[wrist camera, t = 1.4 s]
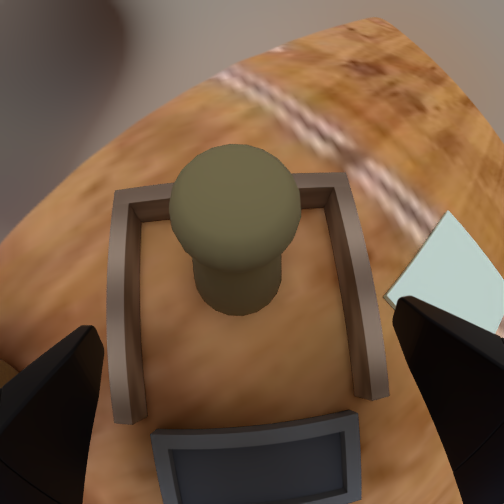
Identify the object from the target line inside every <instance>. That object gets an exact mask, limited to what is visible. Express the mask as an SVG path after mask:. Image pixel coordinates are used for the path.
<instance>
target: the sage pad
mask: <svg viewBox="0 0 504 504" xmlns="http://www.w3.org/2000/svg"><path fill="white" fill-rule="evenodd" d="M409 295H410V296H413V297H416V298H418V299H420V300H422V301H425V302H427V303H429V304H431V305H433V306H436V307H438V308H440V309H442V310H444V311H447V312H449V313H451V314H453V315H455V316H457V317H460V318H462V319H464V320H466V321H468V322H470V323H473V324H475V325H477V326H479V327H481V328H483V329H485V330H487V331H490V332H492V333H494V334H495V333H496V331H497V328H498V326H499V324H500V322H501V319H502V317H503V315H504V280H503V278H502V277H501V275H500V274H499V272H498V271H497V270H496V268H495V267H494V266H493V264H492V263H491V261H490V260H489V259H488V257H487V256H486V255H485V254H484V252H483V251H482V250H481V248H480V247H479V246H478V245H477V243H476V242H475V241H474V240H473V238H472V237H471V236H470V235H469V234H468V232H467V231H466V230H465V229H464V228H463V226H462V225H461V224H460V223H459V222H458V221H457V220H456V218H455V217H454V216H453V215H452V214H451V213H450V212H449V211H446V212H445V213H444V215H443V216H442V218H441V219H440V221H439V222H438V224H437V225H436V227H435V228H434V230H433V231H432V233H431V234H430V236H429V237H428V239H427V240H426V241H425V243H424V244H423V246H422V247H421V248H420V250H419V251H418V253H417V254H416V255H415V257H414V258H413V259H412V261H411V262H410V263H409V265H408V266H407V267H406V269H405V270H404V271H403V273H402V274H401V275H400V277H399V278H398V279H397V280H396V282H395V283H394V284H393V285H392V287H391V288H390V289H389V290H388V292H387V293H386V294H385V295H384V297H383V298H384V299H385V300H386V301H387V302H388V303H389V304H390V305H391V306H392V307H393V308H394V310H395V308H396V304H397V300H398V299H399V298H400V297H403V296H409Z"/></svg>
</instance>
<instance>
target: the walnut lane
mask: <svg viewBox="0 0 504 504" xmlns="http://www.w3.org/2000/svg"><path fill="white" fill-rule="evenodd" d="M292 175H293V177H294V180H295V182H296V184H297V187H298V189H299V192H300V203H301V209H305V208H323V207H324V210H325V214H326V219H327V223H328V228H329V233H330V238H331V242H332V247H333V252H334V257H335V263H336V268H337V273H338V279H339V285H340V290H341V296H342V302H343V309H344V315H345V322H346V328H347V335H348V343H349V350H350V358H351V367H352V376H353V385H354V396H357V397H360V398H364V399H367V400H371V401H374V400H377V399H381V398H384V397H388V396H390V395H389V384H388V374H387V365H386V356H385V348H384V341H383V334H382V327H381V321H380V315H379V309H378V303H377V298H376V292H375V287H374V282H373V277H372V272H371V267H370V263H369V258H368V254H367V249H366V245H365V241H364V237H363V232H362V228H361V224H360V221H359V217H358V213H357V209H356V206H355V202H354V198H353V195H352V191H351V188H350V185H349V181H348V178H347V175H346V173H296V174H292ZM173 185H174V183H167V184H158V185H151V186H143V187H136V188H129V189H122V190H116V191H115V193H114V201H113V209H112V218H111V228H110V239H109V252H108V270H107V351H108V368H109V381H110V391H111V401H112V409H113V417H114V423H118V424H130V425H133V424H135V423H136V422H138V421H140V420H142V419H143V418H145V417H147V416H148V415H147V407H146V398H145V388H144V378H143V366H142V351H141V332H140V239H141V222H149V221H158V220H167V219H170V214H169V202H170V197H171V191H172V186H173Z"/></svg>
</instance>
